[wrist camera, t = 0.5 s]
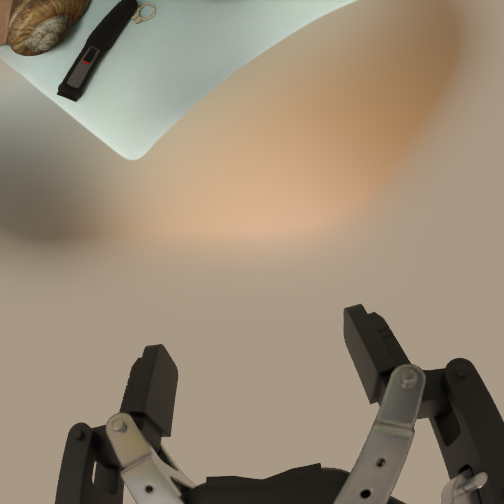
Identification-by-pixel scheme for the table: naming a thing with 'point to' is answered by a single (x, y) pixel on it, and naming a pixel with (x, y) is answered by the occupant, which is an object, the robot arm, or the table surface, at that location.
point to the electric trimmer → (96, 49)
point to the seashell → (42, 24)
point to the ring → (141, 17)
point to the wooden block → (6, 18)
